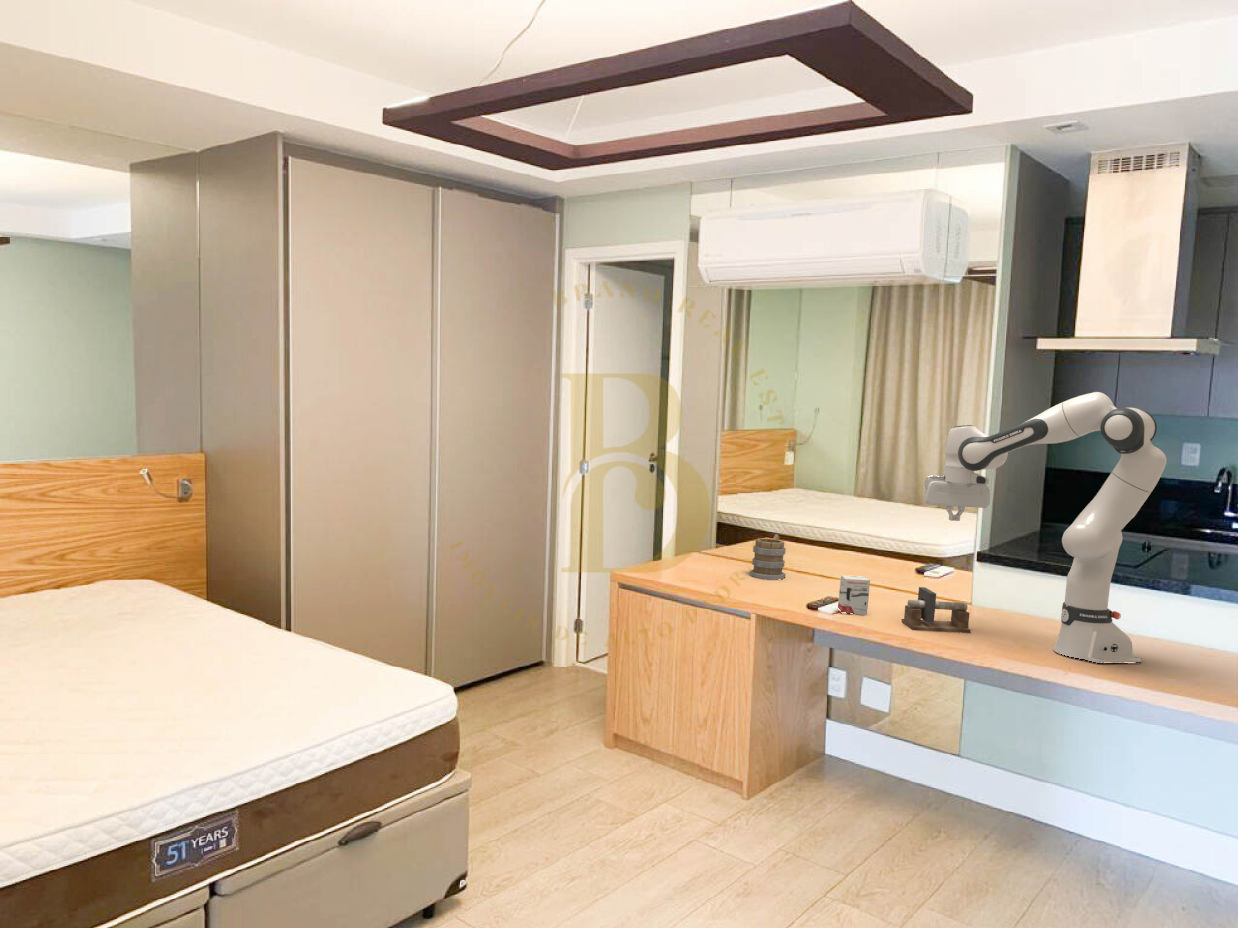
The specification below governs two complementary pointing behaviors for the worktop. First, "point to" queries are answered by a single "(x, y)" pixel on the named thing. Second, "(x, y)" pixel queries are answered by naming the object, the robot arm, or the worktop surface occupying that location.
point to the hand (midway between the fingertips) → (954, 520)
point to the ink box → (854, 594)
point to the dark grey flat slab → (927, 604)
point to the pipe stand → (915, 623)
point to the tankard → (768, 559)
